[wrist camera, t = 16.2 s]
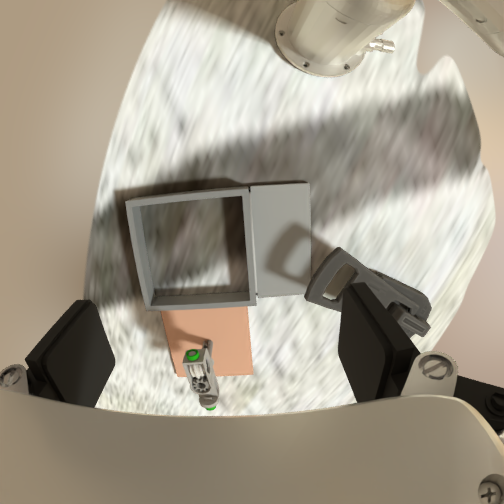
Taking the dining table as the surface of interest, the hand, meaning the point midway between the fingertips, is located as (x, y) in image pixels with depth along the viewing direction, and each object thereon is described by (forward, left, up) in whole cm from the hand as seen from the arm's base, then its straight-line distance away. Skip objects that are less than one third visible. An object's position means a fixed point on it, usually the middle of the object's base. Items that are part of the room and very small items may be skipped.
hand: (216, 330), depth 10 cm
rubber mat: (+6, +22, -30) cm, 37 cm away
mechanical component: (+6, +21, -29) cm, 37 cm away
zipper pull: (-20, +15, -30) cm, 39 cm away
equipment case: (+2, +6, -30) cm, 30 cm away
